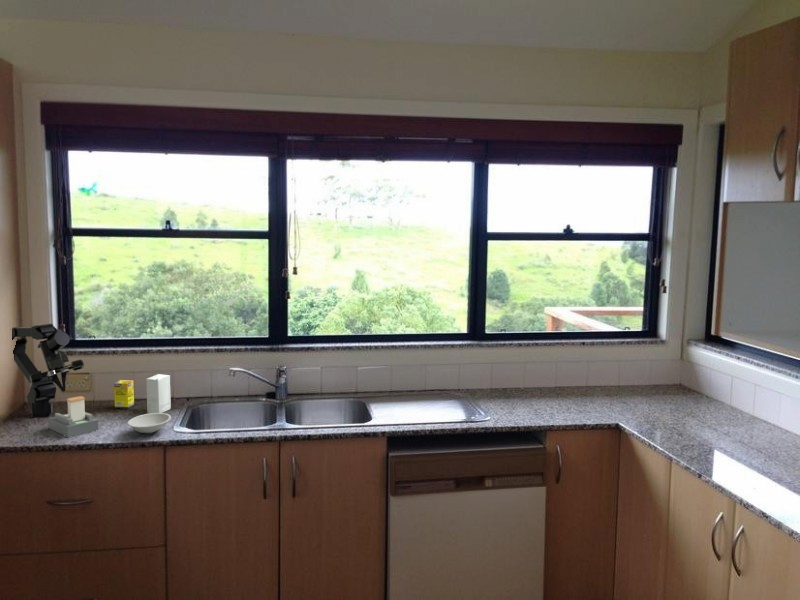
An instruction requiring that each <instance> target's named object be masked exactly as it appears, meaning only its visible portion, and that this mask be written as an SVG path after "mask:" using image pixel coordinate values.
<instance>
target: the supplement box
mask: <svg viewBox="0 0 800 600" xmlns="http://www.w3.org/2000/svg"><path fill="white" fill-rule="evenodd" d="M134 387H135V386H134V380H133V379H132V380H131V379H130V380H129V379H127V380H126V379H119V380H118V381H116V382H114V383H113V392H114V393H113V395H114V397H113V398H114V399H113V400H114V409H116V408H120V409H122V410H123V409H124V410H125V409H128V408H129V409H130V408H132V407H133V406H135V395H134V394H135V391H134ZM120 409H119V410H120ZM129 409H128V410H129Z"/></svg>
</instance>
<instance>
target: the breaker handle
mask: <svg viewBox="0 0 800 600" xmlns="http://www.w3.org/2000/svg"><path fill="white" fill-rule="evenodd" d="M85 400H86V397H84V396H82V395H80V396H76V397H75V396H73V397H69V398H68V397H67V398H66V402H67V414H68V417H69V418H71V419H73V422H75V421H79V420H84V419H85V412H86V411H85V408H86V407H85Z"/></svg>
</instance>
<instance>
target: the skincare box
mask: <svg viewBox="0 0 800 600" xmlns="http://www.w3.org/2000/svg"><path fill="white" fill-rule="evenodd" d="M145 380H146V403H147V404H146V408H147V409H146V410H147V413H146V414H149V413H165V412H167V411H169V410H171V407H172V405H171V404H172V403H171V402H172V401H171V400H172V399H171V375H170V374H169V375H168V374H161V373H157V374H155V375H152V376H150V377H147V378H146V379H145Z"/></svg>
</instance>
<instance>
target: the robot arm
mask: <svg viewBox="0 0 800 600" xmlns="http://www.w3.org/2000/svg"><path fill="white" fill-rule="evenodd" d="M11 328H12V340H13V339H17V341H16V345H15V348H14V350H13V354H14V360H13V361H14V362H15V364H16V365H17V367H18V369H20V371H21V372H22V374H23V375H24V377H25V378H26V379H27V380H28V382H29V384H30V385H29V391H28V394H27V395H26V400H27V402H29V403H31V412H32V413H31V416H30V418H45V417H48V418H49V417H50V416H51V415H52V414H53V413H54V405H53V402H52V400H54V399H55V398H56V393H57V387H58V389H60V391H61V392H62V393H64V392H66V379H67V376H69V374H70V370H73V371H79V370H81V369H84V367H85V363H84V361H83V359H76V360H74V361H71V363H70V364H68V365H66V363H68V362H70V361H69V356H68V354H67V353H62V354H61V353H60V350H61V349H62V348H64V347H65V346H66V345H68V344H69V343H70V340H71V339H70V336H69V334H68V333H67V332H65V331H63V330H62V329H61V328H60V329H59V328H58V329H57V328H56V327H55V326H54V324H53V323H44V324H36V325H34V326H15V327H11ZM20 337H21V338H20ZM26 337H30V338H32V339H33V340H36V341H38V340H40V341H39V342H38V343H39V344H38V345H37V348H38V349H41V354H42V355H43V358H44V361H45V364H46V368H47V371H43V372H42V370H38V368H37V367H36V365H35V364H34V363H33V361H32V360H31V359H30V357H29V355H28V354H27V353H26V348H27V344H28V340H27V338H26ZM58 374H60V378H59V376H58Z"/></svg>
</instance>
